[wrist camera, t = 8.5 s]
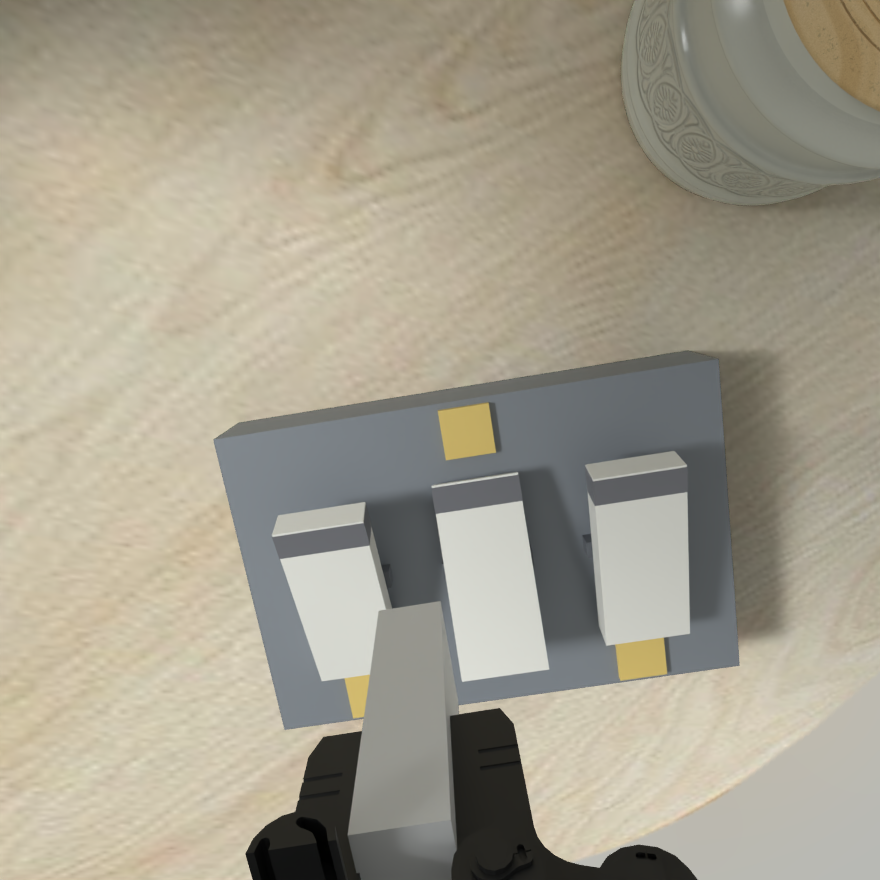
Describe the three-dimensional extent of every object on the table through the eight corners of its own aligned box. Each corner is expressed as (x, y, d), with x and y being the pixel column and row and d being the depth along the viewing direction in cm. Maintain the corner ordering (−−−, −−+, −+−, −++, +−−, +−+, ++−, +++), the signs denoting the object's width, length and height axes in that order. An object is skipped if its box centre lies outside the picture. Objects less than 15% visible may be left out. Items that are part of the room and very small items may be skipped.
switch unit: (300, 685, 39) (280, 742, 34) (238, 422, 36) (206, 444, 31) (709, 626, 38) (748, 676, 33) (687, 350, 35) (727, 361, 30)
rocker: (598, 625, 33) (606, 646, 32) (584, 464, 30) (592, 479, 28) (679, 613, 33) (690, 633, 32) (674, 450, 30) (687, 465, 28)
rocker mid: (461, 671, 32) (461, 682, 30) (432, 484, 32) (431, 485, 31) (546, 659, 32) (549, 669, 30) (516, 471, 32) (518, 472, 30)
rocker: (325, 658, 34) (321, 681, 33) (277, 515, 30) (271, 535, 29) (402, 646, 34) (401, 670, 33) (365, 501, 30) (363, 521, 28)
